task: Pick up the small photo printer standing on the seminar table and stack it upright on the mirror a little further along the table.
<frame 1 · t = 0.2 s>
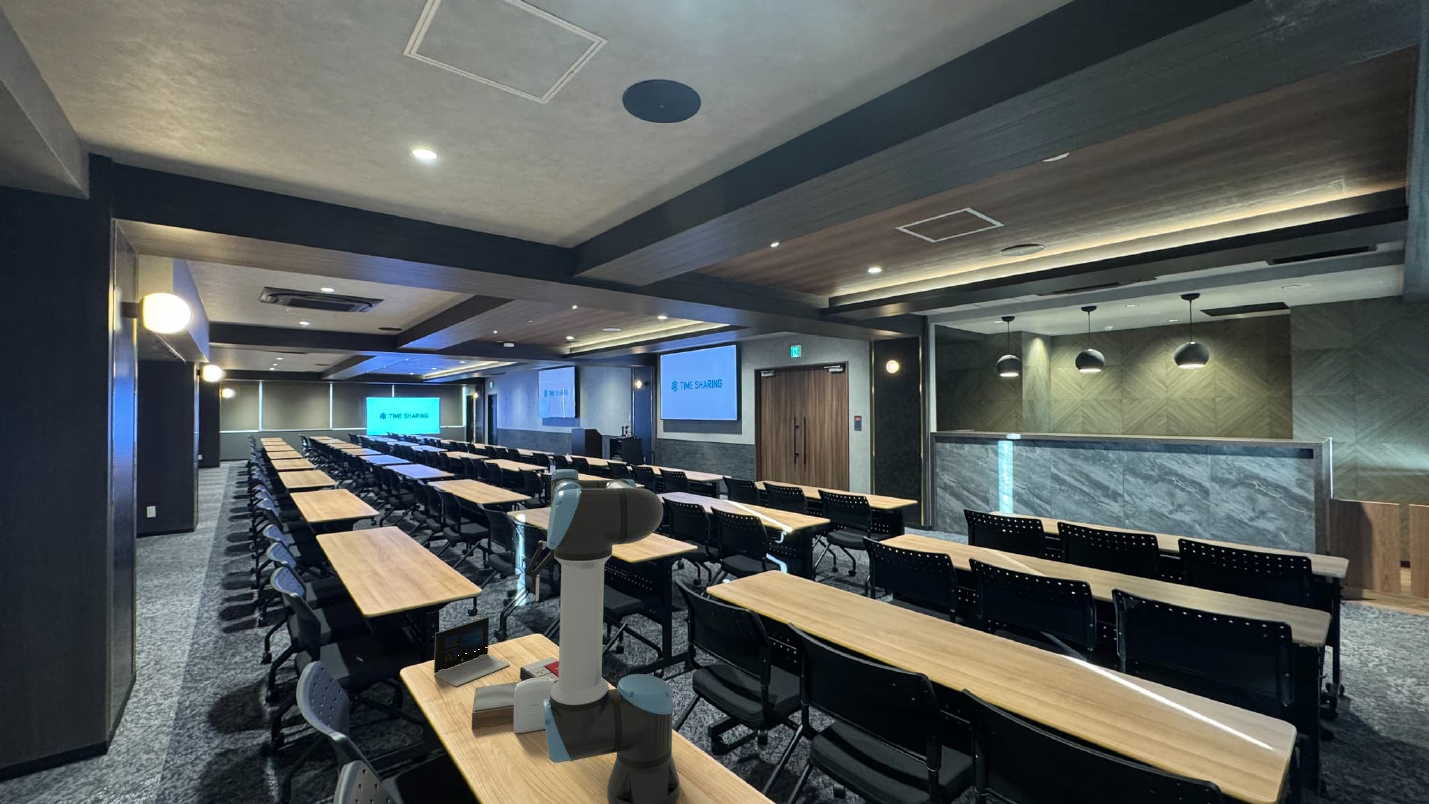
hand: (562, 598, 160), 27 cm above the table, fingers open, 13 cm apart
mirror: (501, 711, 150), on the table
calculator: (548, 683, 168), on the table
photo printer: (534, 728, 143), on the table
laptop: (472, 672, 174), on the table
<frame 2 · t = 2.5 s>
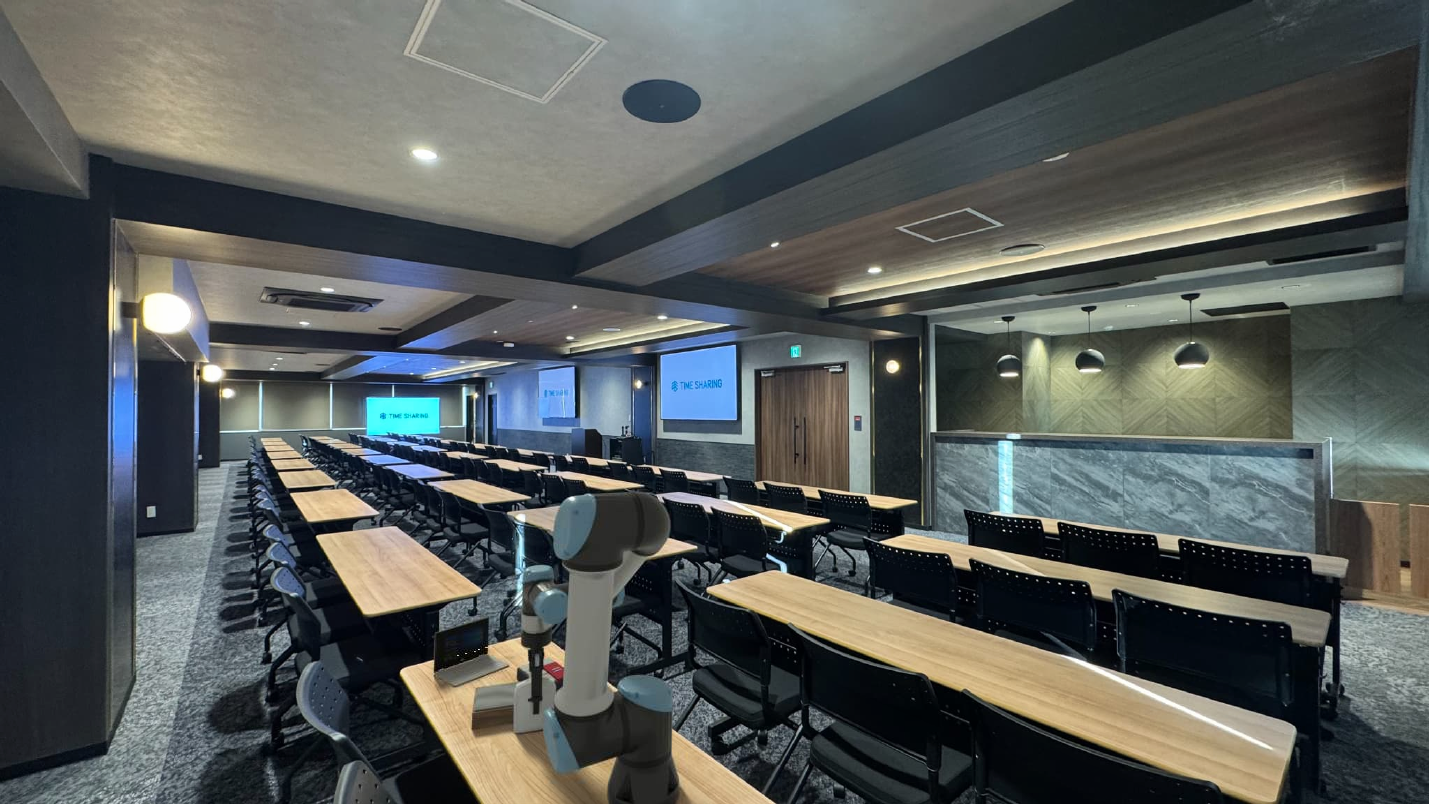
hand: (534, 711, 143), 4 cm above the table, fingers open, 13 cm apart
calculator: (544, 683, 167), on the table
everything else where it was.
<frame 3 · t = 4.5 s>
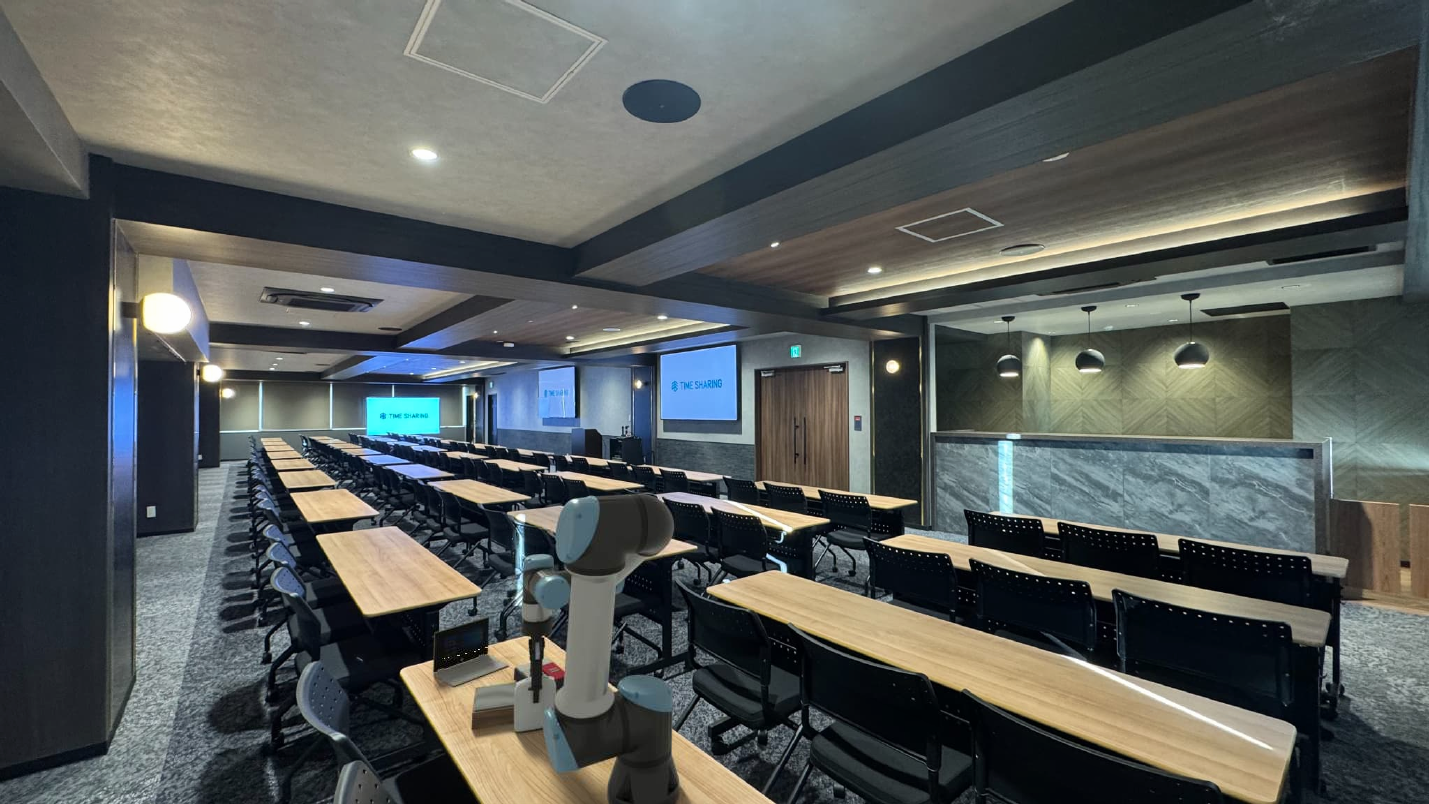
hand: (535, 709, 143), 5 cm above the table, fingers closed on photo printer, 4 cm apart
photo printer: (534, 727, 143), on the table, touching gripper
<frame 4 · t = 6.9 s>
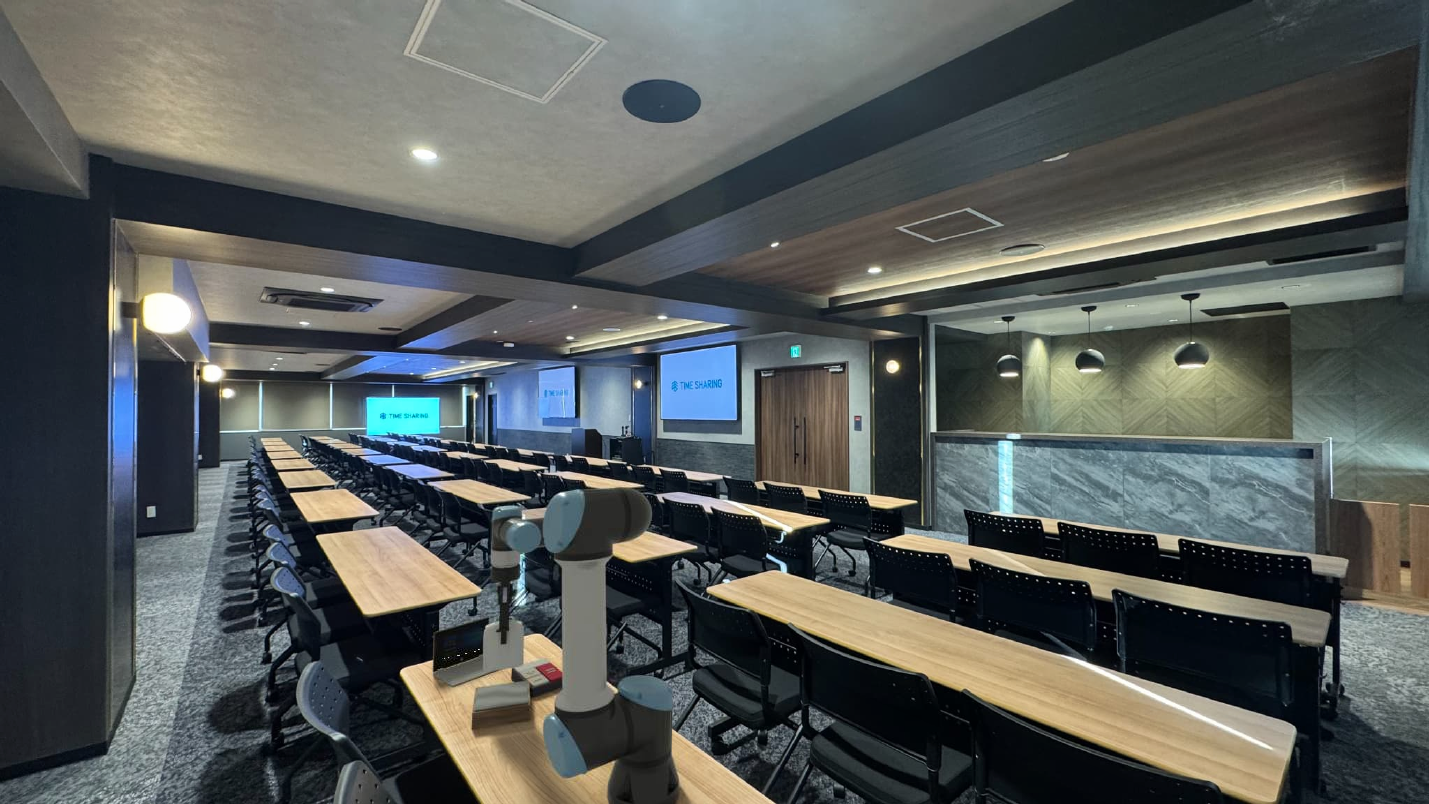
hand: (503, 651, 151), 16 cm above the table, fingers closed on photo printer, 4 cm apart
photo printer: (503, 667, 151), point 11 cm above the table, touching gripper
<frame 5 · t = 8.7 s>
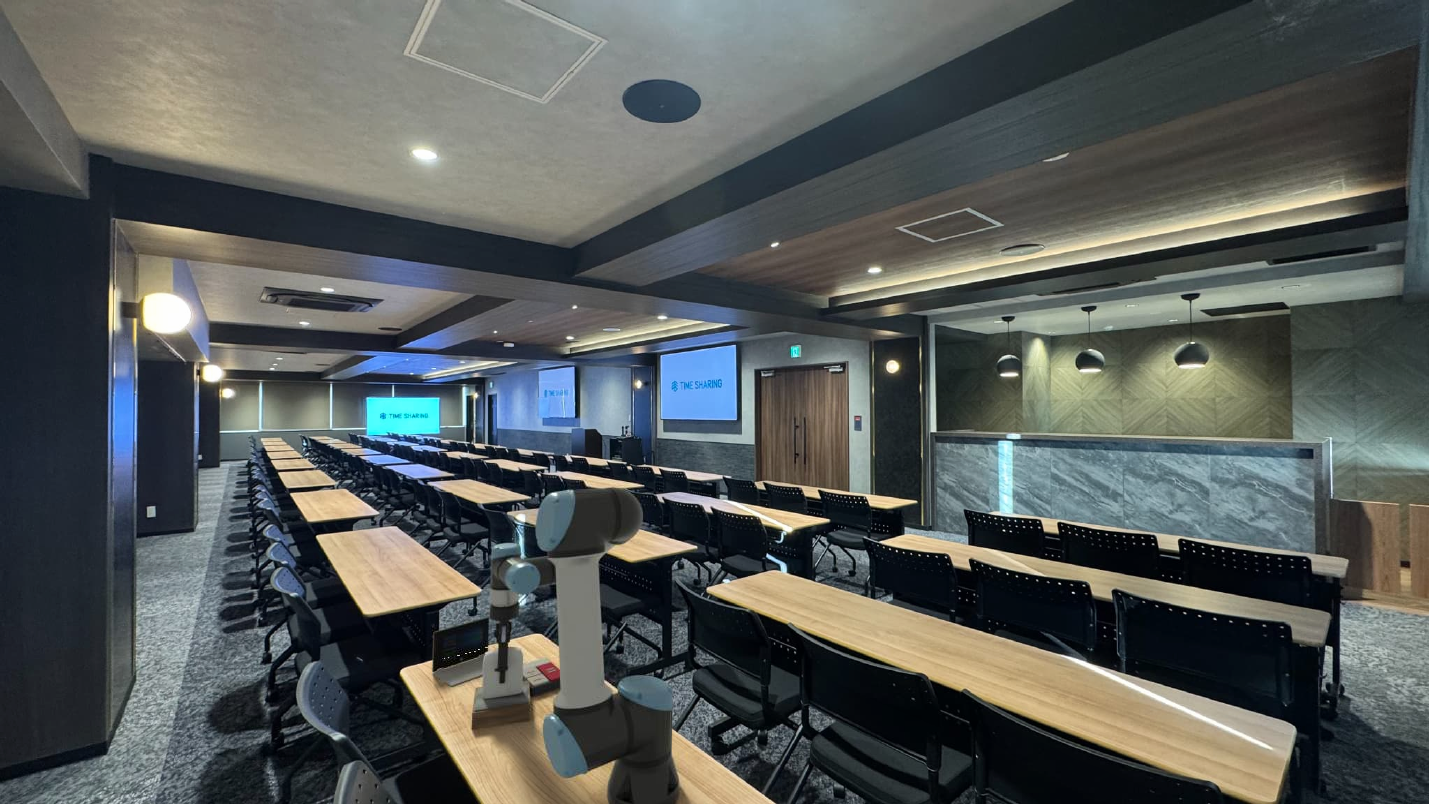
hand: (501, 689, 151), 6 cm above the table, fingers closed on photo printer, 4 cm apart
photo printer: (502, 695, 151), point 4 cm above the table, touching gripper, mirror
when the fingers open (6 cm above the table, at t = 9.3 s): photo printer stays where it is, resting on mirror.
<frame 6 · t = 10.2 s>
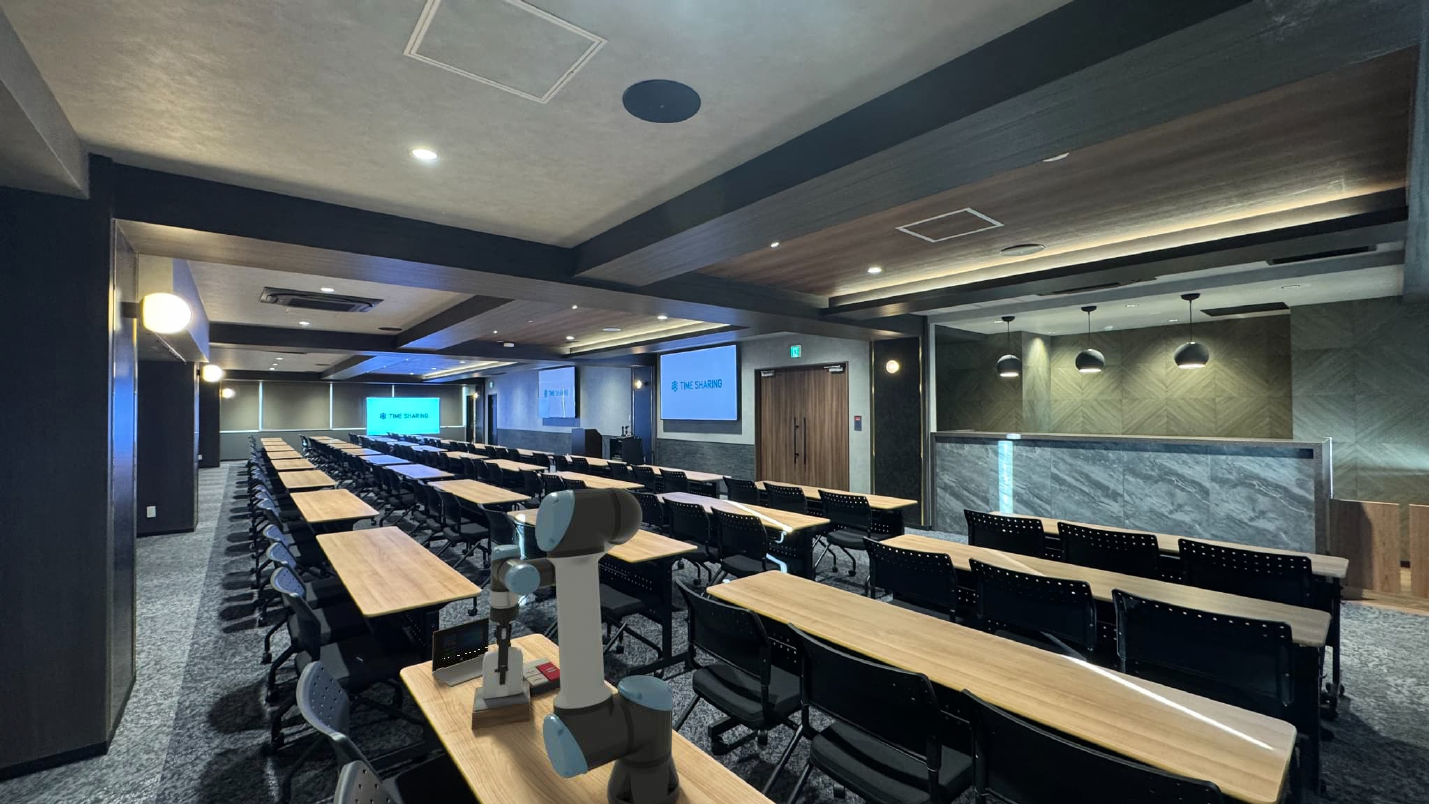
hand: (502, 683, 151), 7 cm above the table, fingers open, 13 cm apart
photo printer: (502, 695, 151), point 4 cm above the table, touching mirror
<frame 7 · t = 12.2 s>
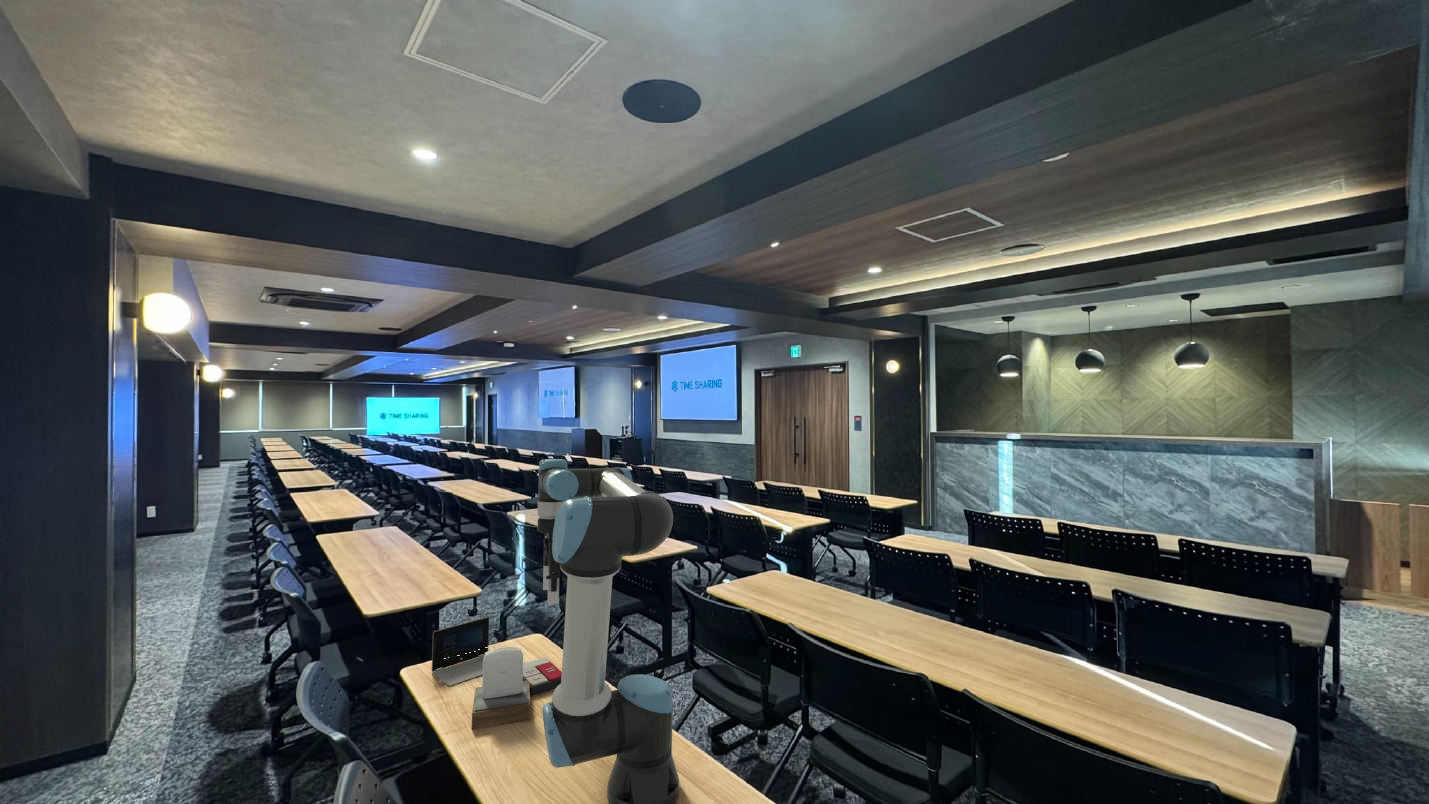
hand: (550, 596, 151), 31 cm above the table, fingers open, 13 cm apart
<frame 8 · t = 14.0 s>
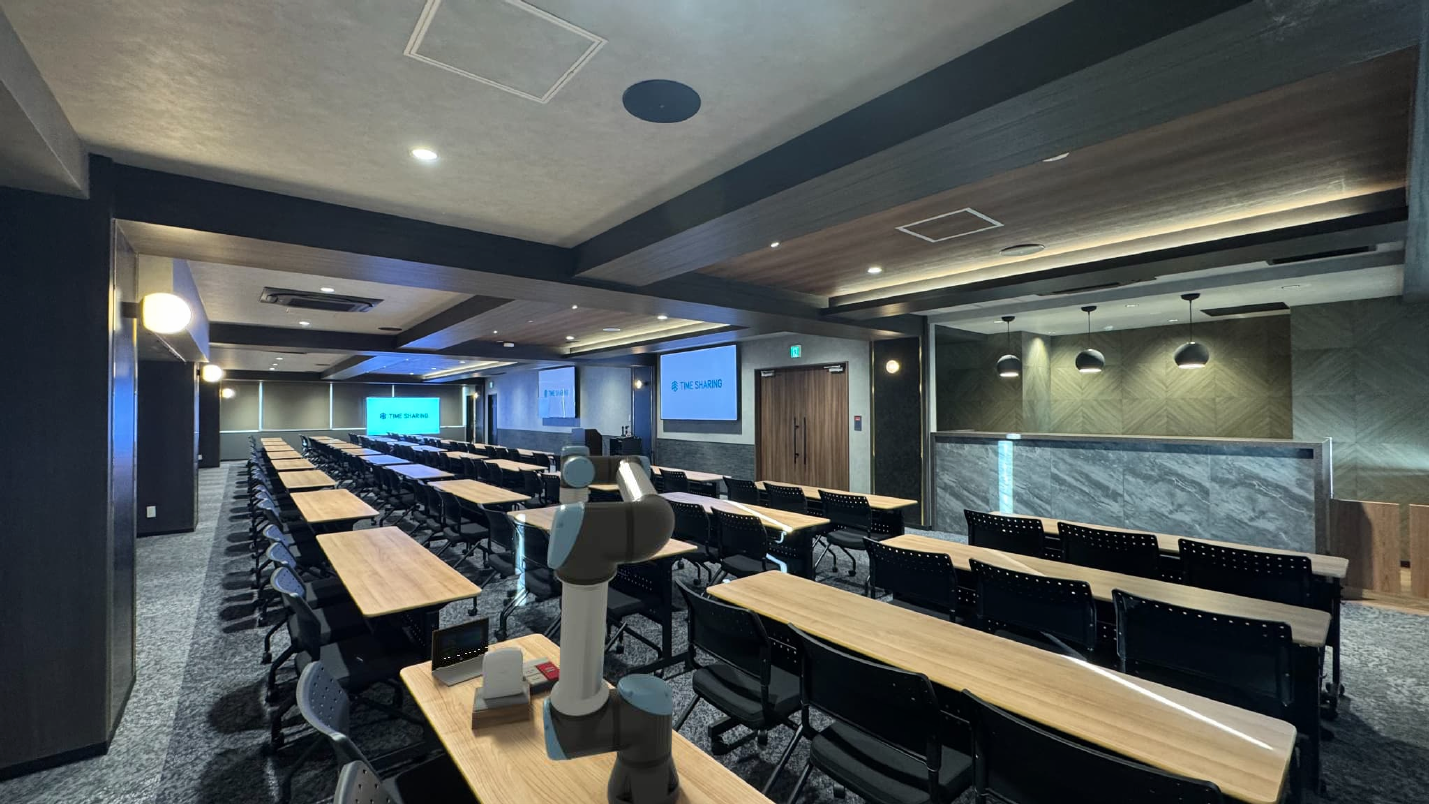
hand: (572, 582, 151), 35 cm above the table, fingers open, 13 cm apart
at the end: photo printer inside the target area on the mirror (0.3 cm from its centre), point 4.1 cm above the mirror's base; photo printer tilted 0°; the gripper is holding nothing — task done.
